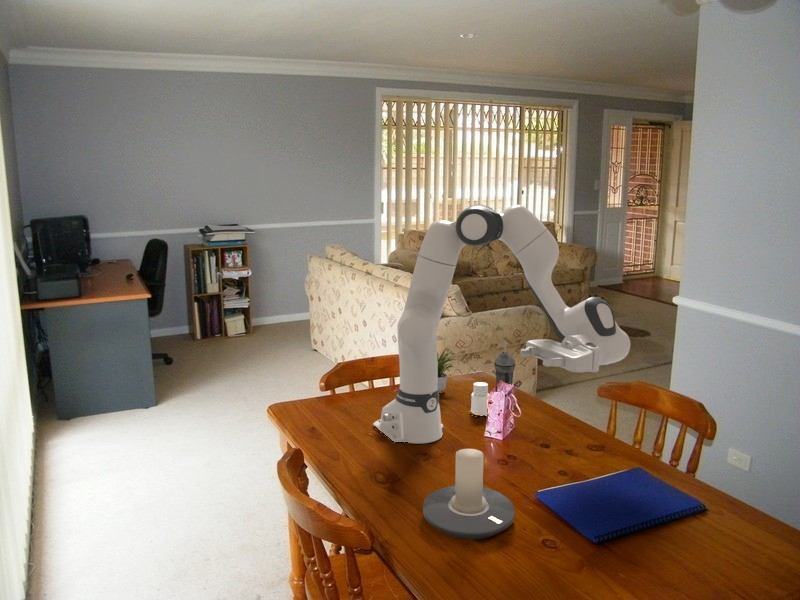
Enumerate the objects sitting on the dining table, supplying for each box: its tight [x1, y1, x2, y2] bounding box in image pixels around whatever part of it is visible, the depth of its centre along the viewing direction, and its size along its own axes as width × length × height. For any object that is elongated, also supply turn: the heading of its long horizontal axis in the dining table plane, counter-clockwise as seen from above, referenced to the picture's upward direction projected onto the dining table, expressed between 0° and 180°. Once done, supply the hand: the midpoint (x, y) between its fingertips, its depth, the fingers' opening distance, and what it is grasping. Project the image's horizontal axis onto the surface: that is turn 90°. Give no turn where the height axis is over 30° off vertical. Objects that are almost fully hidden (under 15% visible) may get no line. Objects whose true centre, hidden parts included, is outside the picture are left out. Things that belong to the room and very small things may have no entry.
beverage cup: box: [493, 340, 516, 386], centre depth 224 cm, size 7×7×20 cm
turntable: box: [422, 485, 515, 537], centre depth 143 cm, size 20×20×2 cm
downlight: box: [470, 381, 490, 417], centre depth 208 cm, size 8×7×10 cm
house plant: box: [437, 348, 459, 391], centre depth 228 cm, size 14×14×16 cm
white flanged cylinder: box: [451, 448, 486, 514], centre depth 142 cm, size 8×8×12 cm
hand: (532, 358), depth 163 cm, fingers open, 8 cm apart
